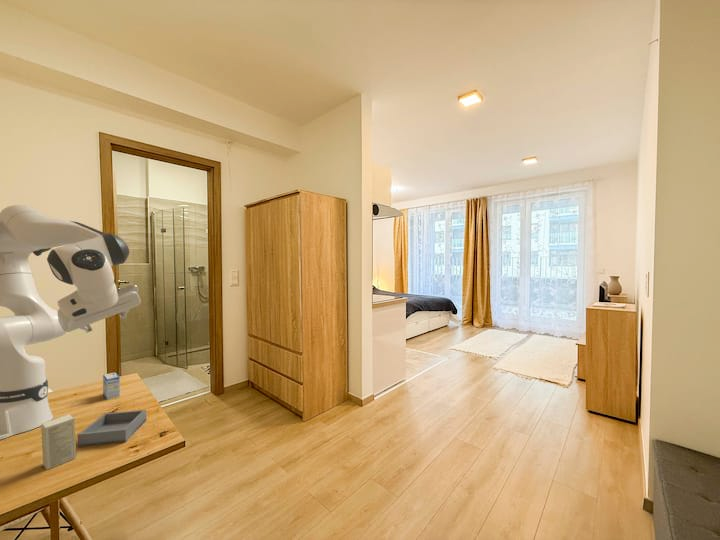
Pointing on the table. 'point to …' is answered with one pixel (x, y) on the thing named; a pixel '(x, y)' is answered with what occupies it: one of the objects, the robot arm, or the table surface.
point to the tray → (112, 428)
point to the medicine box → (111, 385)
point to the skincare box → (58, 441)
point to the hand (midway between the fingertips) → (106, 323)
